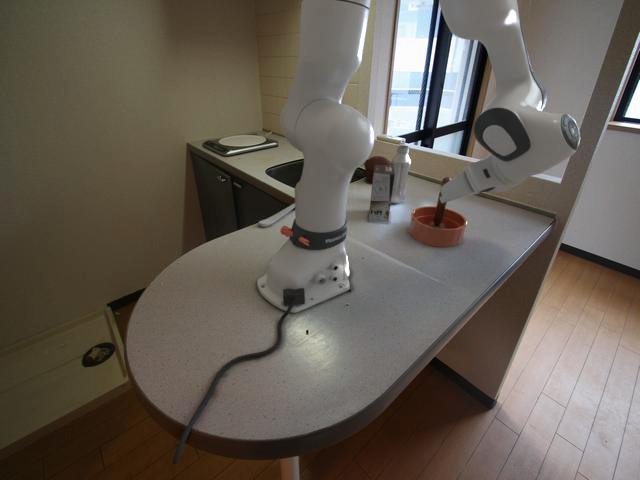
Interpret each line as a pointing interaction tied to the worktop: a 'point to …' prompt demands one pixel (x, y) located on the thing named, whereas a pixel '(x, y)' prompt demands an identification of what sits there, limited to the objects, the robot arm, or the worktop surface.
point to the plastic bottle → (400, 174)
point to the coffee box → (381, 192)
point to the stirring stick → (439, 209)
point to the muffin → (371, 164)
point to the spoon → (275, 217)
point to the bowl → (437, 236)
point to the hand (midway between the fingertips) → (454, 196)
